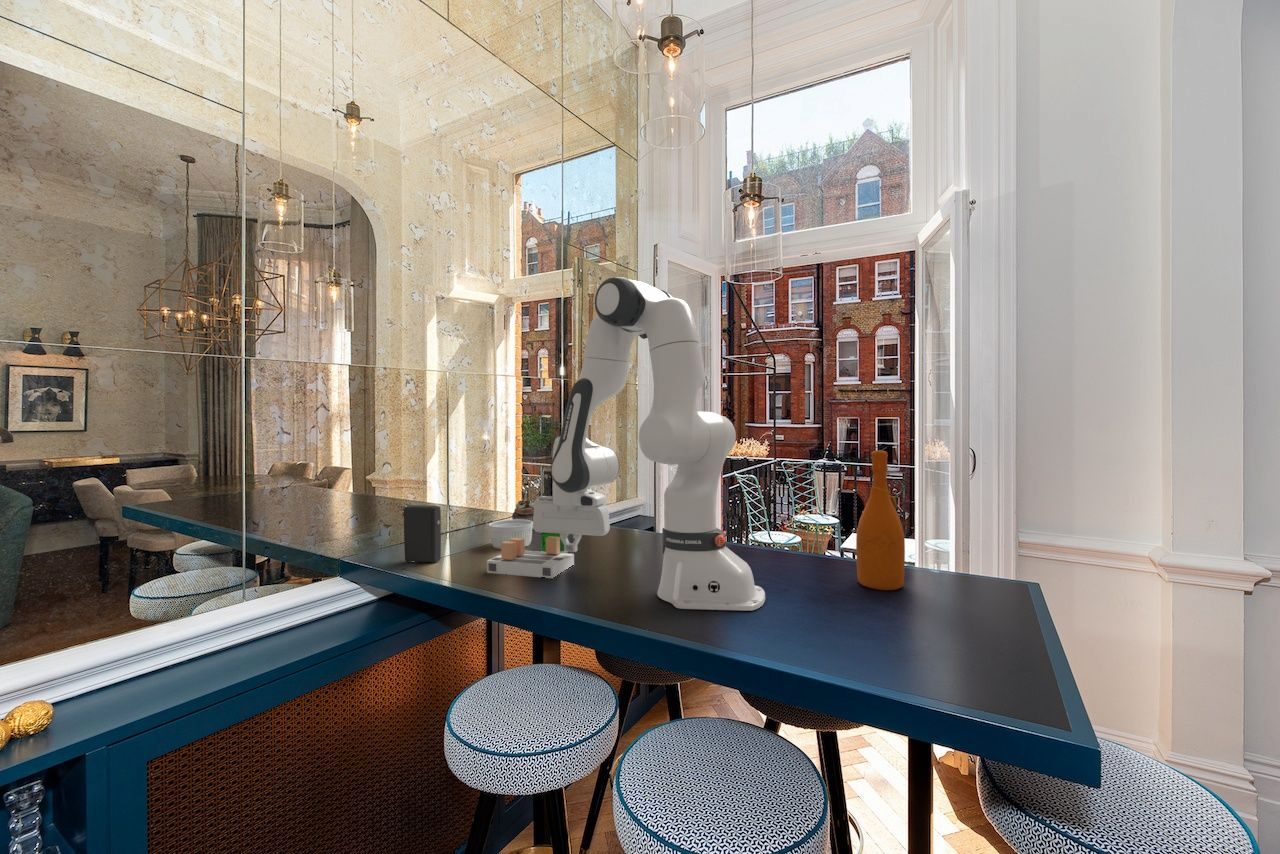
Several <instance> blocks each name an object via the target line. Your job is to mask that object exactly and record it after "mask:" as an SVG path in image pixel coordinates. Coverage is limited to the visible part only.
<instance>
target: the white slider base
mask: <svg viewBox="0 0 1280 854" xmlns="http://www.w3.org/2000/svg"><path fill="white" fill-rule="evenodd" d="M572 565H574V566H575V554H574V553H568V552H567V553H558V554H546V552H541V551H539V550H538V551H535V550H525V554H524V555H522V556H516V558H515V559H513V560H507V559H501V554H499V555H497V556H494V557H493V558H490V559H488V560H486V573H487V574H494V575H495V574H496V575H506V574H507V576H518V577H519V576H520V577H532V578H541V577H545V578H544V579H554V578H553V577H555V576H556V577H558V576H559V575H561V574H562V573H561V572H563V571H564V570H566V569H568V568H569V567H571V566H572ZM571 568H572V567H571ZM569 569H570V568H569ZM569 569H568V570H569ZM566 571H567V570H566ZM564 572H565V571H564ZM564 572H563V573H564ZM560 573H561V574H560ZM558 574H559V575H558ZM557 575H558V576H557ZM556 577H555V578H556Z"/></svg>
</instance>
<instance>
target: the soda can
mask: <svg viewBox="0 0 1280 854" xmlns="http://www.w3.org/2000/svg"><path fill="white" fill-rule="evenodd" d="M549 536H552V537H560V533H545V532H540V550H541V551H540V552H546V538H547V537H549ZM567 539H568V540H569V535H568V536H567ZM568 552H569V551H564V544H563V542H562V540H561V539H560V553H568Z"/></svg>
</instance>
